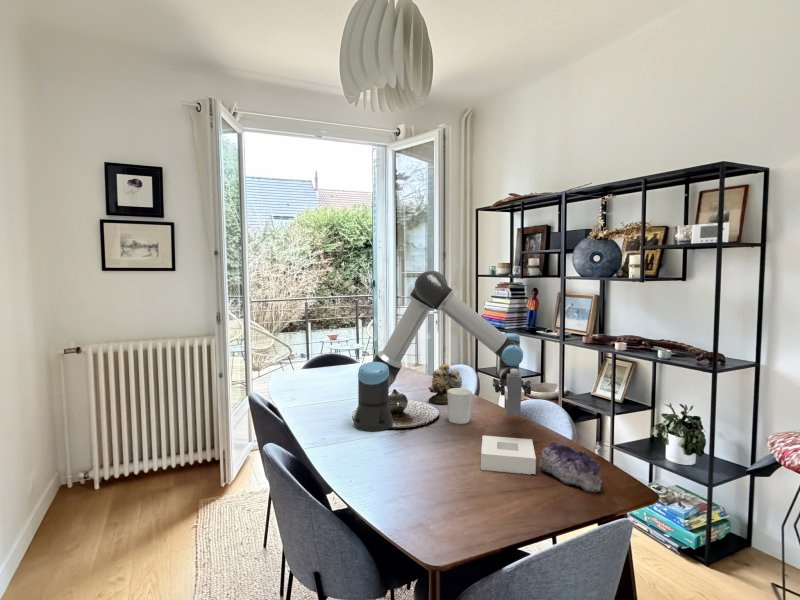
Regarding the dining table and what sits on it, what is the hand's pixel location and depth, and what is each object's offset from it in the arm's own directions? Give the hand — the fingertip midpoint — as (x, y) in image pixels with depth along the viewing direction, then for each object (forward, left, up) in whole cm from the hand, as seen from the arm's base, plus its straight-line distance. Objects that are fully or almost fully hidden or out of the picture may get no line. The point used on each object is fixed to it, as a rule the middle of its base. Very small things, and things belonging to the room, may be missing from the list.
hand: (514, 395), depth 156 cm
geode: (+16, -14, -20) cm, 29 cm away
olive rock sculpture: (-28, +57, -20) cm, 67 cm away
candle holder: (-20, +31, -20) cm, 42 cm away
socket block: (-2, -6, -20) cm, 21 cm away
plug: (0, +5, -8) cm, 9 cm away
